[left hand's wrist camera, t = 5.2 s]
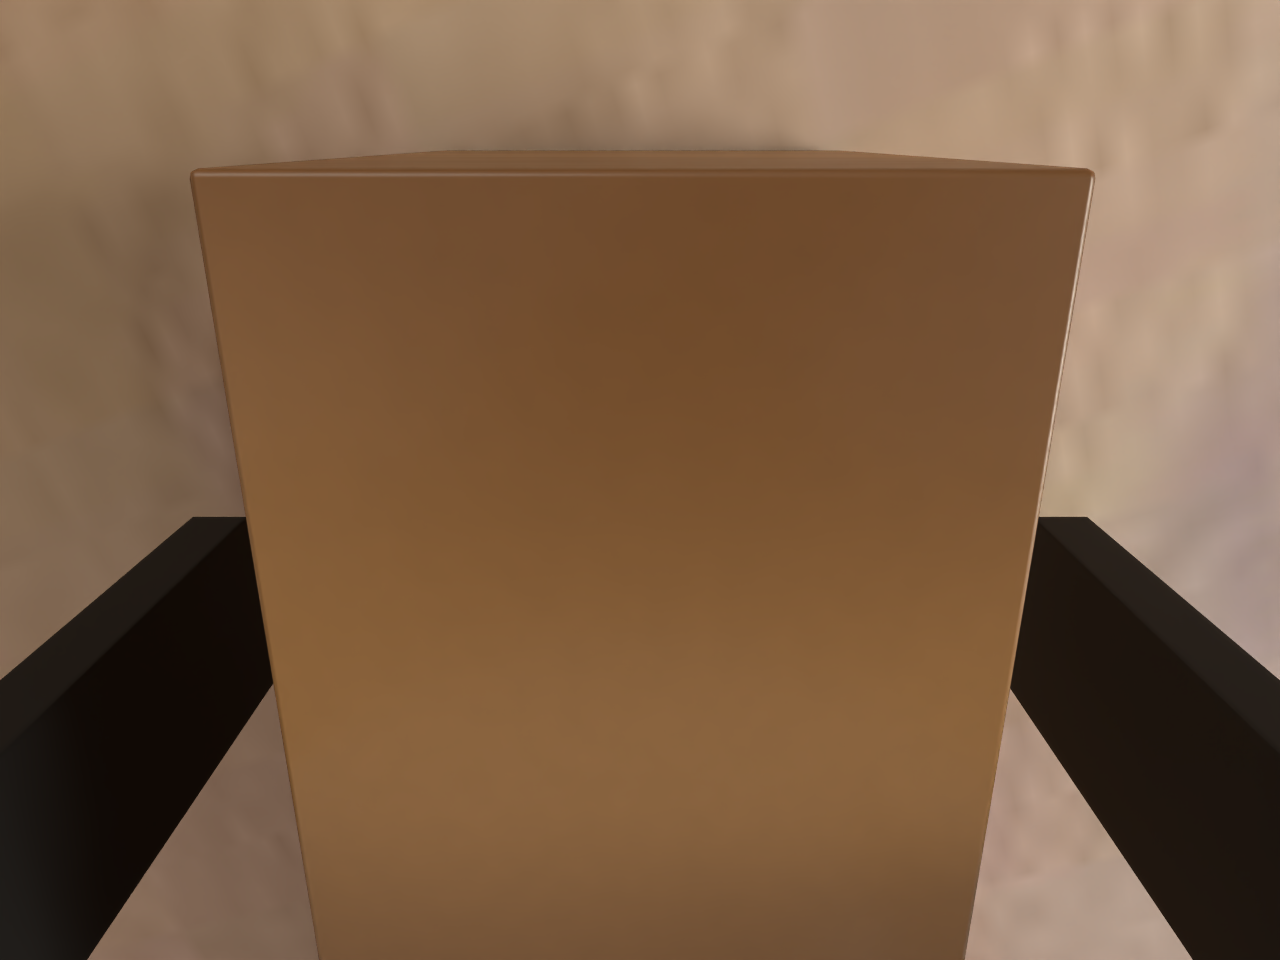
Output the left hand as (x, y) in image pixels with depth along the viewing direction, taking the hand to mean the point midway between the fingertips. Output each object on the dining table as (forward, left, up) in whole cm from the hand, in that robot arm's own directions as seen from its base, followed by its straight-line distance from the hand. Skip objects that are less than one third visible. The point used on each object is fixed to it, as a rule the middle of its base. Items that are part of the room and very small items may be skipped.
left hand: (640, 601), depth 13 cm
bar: (+29, +6, -2) cm, 29 cm away
